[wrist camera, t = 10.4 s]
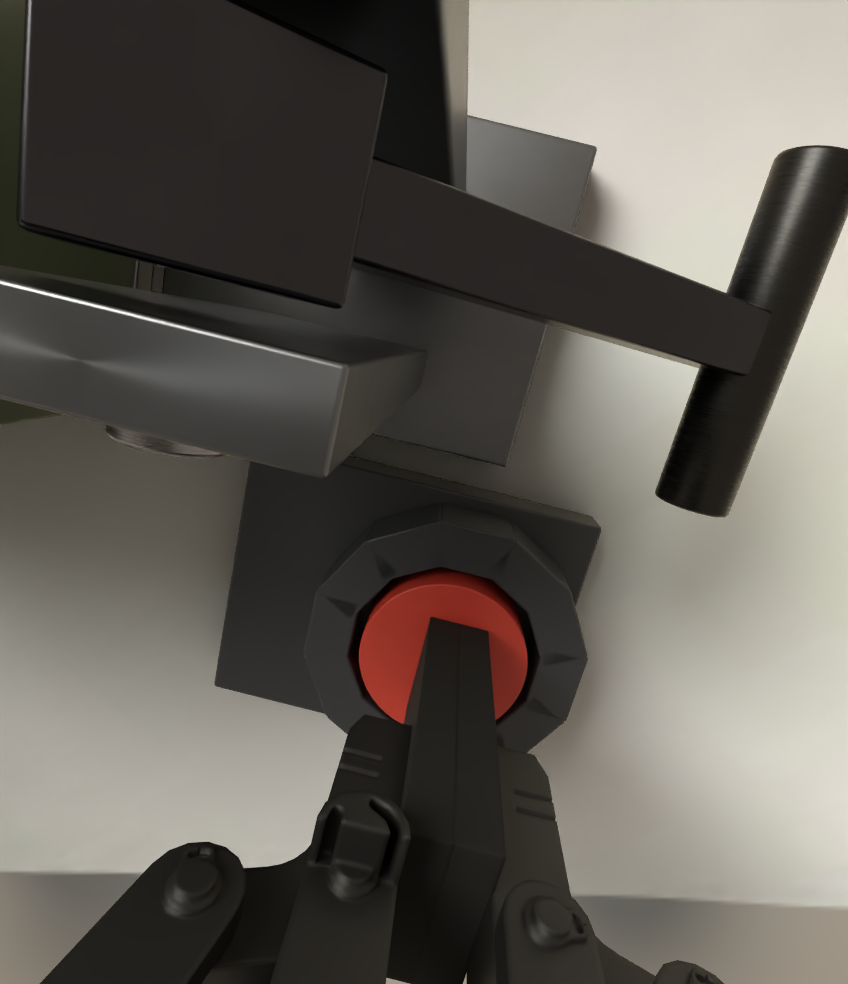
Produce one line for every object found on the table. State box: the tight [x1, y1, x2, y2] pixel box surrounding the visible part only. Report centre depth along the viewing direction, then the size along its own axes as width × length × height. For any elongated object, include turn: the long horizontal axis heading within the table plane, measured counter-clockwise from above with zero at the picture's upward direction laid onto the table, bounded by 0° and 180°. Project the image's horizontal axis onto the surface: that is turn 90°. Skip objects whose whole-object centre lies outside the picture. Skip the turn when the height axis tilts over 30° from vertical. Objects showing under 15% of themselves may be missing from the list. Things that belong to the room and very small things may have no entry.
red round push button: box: [359, 567, 528, 724], centre depth 16 cm, size 4×4×2 cm
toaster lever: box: [16, 0, 848, 517], centre depth 8 cm, size 11×6×2 cm, turn 77°
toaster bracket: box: [0, 0, 597, 478], centre depth 10 cm, size 10×8×12 cm
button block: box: [215, 456, 601, 753], centre depth 16 cm, size 10×8×3 cm
